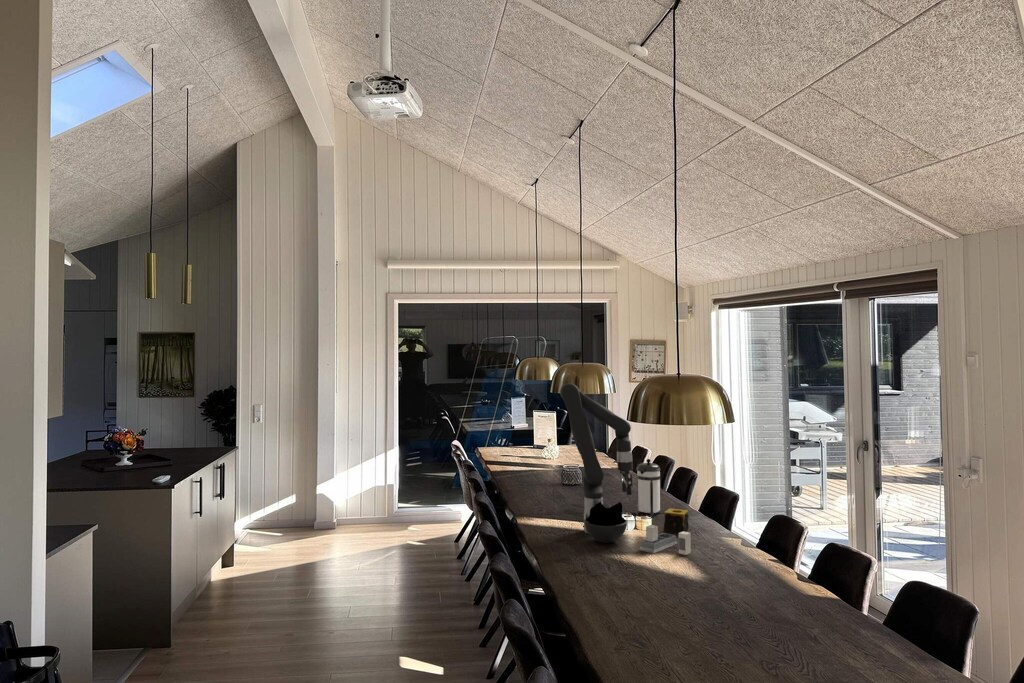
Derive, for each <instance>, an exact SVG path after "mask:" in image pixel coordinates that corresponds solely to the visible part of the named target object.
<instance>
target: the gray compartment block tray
mask: <svg viewBox="0 0 1024 683" xmlns="http://www.w3.org/2000/svg"><path fill="white" fill-rule="evenodd" d="M658 528H659V527H658V525H654V524H649V525H646V526H645V539H643V540H641V541H640V546H639V551H642V552H647V553H651V554H657V553H658V552H660V551H664V550H665V549H669V548H671V547H673V545H674V546H675V544H676V545H678V540H677V535H676V534H672V533H667V532H661V533H659V530H658ZM658 533H659V534H658Z"/></svg>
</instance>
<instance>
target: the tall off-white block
mask: <svg viewBox="0 0 1024 683" xmlns="http://www.w3.org/2000/svg"><path fill="white" fill-rule="evenodd" d="M691 535H692V534H691V532H688V531H687V532H684V531H683V532H680V533H679V534H678V554H679V555H684V556H687V555H689V554H691V553H692V552H691V548H692V547H691V545H692V544H691V541H692V540H691V538H692V536H691Z"/></svg>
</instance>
